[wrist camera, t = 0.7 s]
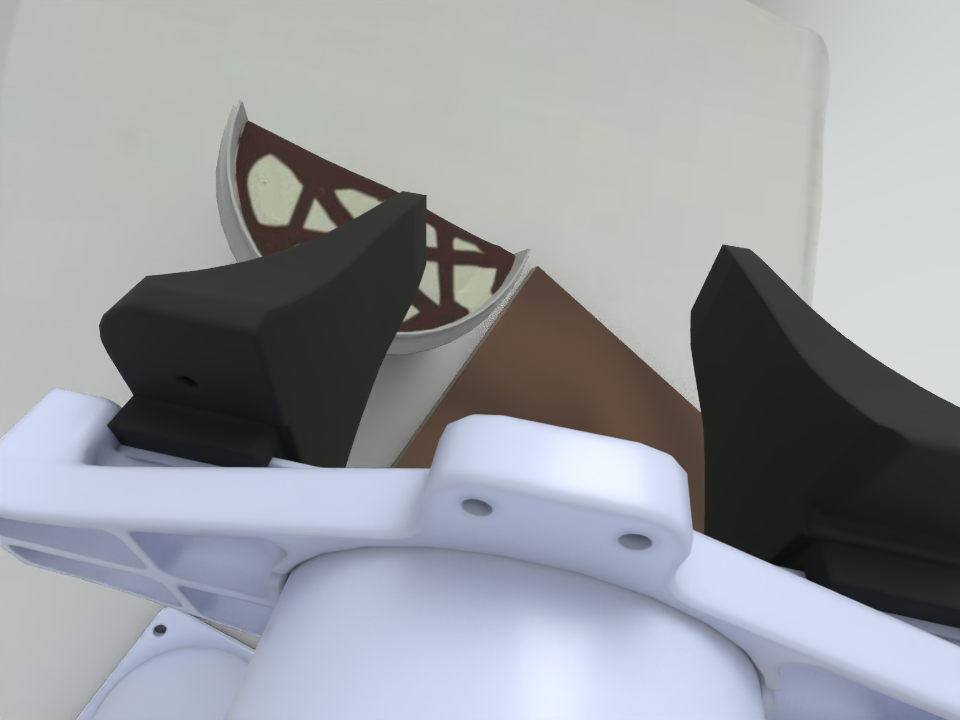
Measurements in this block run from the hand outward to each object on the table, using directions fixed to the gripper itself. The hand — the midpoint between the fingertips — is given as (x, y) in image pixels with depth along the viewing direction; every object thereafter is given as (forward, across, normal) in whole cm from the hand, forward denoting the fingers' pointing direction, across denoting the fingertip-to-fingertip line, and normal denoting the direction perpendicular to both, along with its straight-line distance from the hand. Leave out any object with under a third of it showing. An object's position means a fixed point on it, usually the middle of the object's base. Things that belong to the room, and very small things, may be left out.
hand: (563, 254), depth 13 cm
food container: (+9, +11, +11) cm, 18 cm away
